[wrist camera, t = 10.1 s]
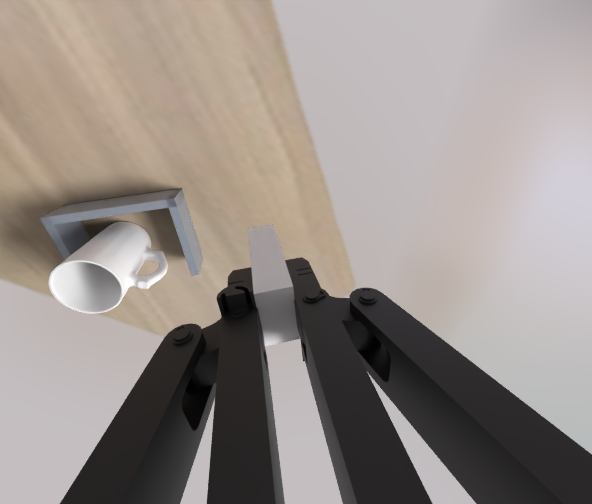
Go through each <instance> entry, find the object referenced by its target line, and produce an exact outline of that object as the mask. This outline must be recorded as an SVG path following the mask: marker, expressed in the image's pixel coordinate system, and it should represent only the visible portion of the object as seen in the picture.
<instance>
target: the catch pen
mask: <svg viewBox="0 0 592 504" xmlns="http://www.w3.org/2000/svg"><path fill="white" fill-rule="evenodd" d="M163 208H169V210H170V213H171V216H172V219H173V222H174V225H175V228H176V231H177V234H178V237H179V240H180V243H181V246H182V249H183V252H184V255H185V258H186V261H187V264H188V267H189V270H190V273H191V276H193V275H198V274H199V272H200V268H201V264H202V260H203V256H202V253H201V250H200V246H199V243H198V240H197V236H196V233H195V230H194V227H193V223H192V220H191V217H190V213H189V210H188V207H187V203H186V200H185V197H184V193H183V190H182V189H175V190H168V191H161V192H154V193H147V194H140V195H133V196H126V197H119V198H111V199H104V200H97V201H90V202H83V203H76V204H69V205H63V206H62V207H60V208H58V209H56V210H54V211H52V212H50V213H48V214H46V215H44V216H42V217H40V220H41V222H42V224H43V225H44V227H45V229H46V230H47V232H48V234H49V236H50V237H51V239H52V241H53V242H54V244H55V246H56V247H57V249H58V251H59V253H60V254H61V256H62V258H63V259H64V260H66V259H67V258H68V257H69V256H71V255H72V254H73V253H74V252H76V251H77V250H78V249H80V248H81V247H82V246H83V245H85V244H86V243H87V242H89V241H90V238H89V236H88V234H87V232H86V230H85V228H84V226H83V224H82V222H81V221H82V220H89V219H95V218H102V217H109V216H116V215H122V214H129V213H136V212H143V211H149V210H156V209H163Z"/></svg>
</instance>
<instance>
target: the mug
mask: <svg viewBox="0 0 592 504" xmlns="http://www.w3.org/2000/svg"><path fill="white" fill-rule="evenodd" d="M144 261H155V262H157V263H158V264H159V268H158V269H157V271H155V272H154V273H152V274H149V275H145V276H138V275H137V273H138V271H139V269H140V268H141V266H142V264H143V263H144ZM167 268H168V265H167V261H166V258H165V256H164V253H163V252H162V251H158V250H151V239H150V237H149V235H148V233H147V232H146V231H145V230H144V229H143V228H142V227H140V226H138V225H136V224H134V223H131V222H116V223H113V224H111V225H109V226H108V227H107V228H105V229H104V230H103V231H101V232H100V233H99V234H97V235H96V236H95V237H94V238H92V239H91V240H90V241H89V242H87V243H86V244H85V245H83V246H82V247H81V248H80V249H78V250H77V251H76V252H74V253H73V254H72V255H71V256H69V257H68V258H67V259H66V260H64V261H63V262H62V263H61V264H60V265H59V266H57V267H56V268H55V269H54V270H53V271H52V272H51V274H50V276H49V281H48V284H49V288H50V291H51V293H52V294H53V296H54V297H55V298H56V299H57V300H58V301H59V302H60V303H62V304H63V305H65V306H66V307H68V308H70V309H73V310H75V311H79V312H83V313H102V312H106V311H109V310H111V309H113V308H115V307H116V306H117V305H118V304H119V303H120V302H121V300H122V298H123V296H124V295H125V293H126V292H127V290H128V288H129V287H131V286H137V287H138V288H142V289H148V288H149V287H150V286H151V285H152V284H154V283H156V282H157V281H158V280H160V279H161V278H162V277H163V276H164V275H165V274H166V272H167Z"/></svg>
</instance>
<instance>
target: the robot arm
mask: <svg viewBox="0 0 592 504" xmlns="http://www.w3.org/2000/svg"><path fill="white" fill-rule="evenodd" d="M248 234H249V245H250V257H251V267H250V268H245V269H239V270H234V271H232V272H231V274H230V275H229V277H228V287H227V288H225V289H223V290H222V291H221V292H220V293H219V294H218V296H217V302H218V305H219V308H220V312H221V315H222V318H221V319H220V320H219V321H217V322H216V323H214V324H212V325H210V326H208V327H206V328H203V329H201V327H200V326H198V325H197V324H185V325H181V326H179V327H177V328H175V329H173V330H172V331H171V332H169V333H168V334H167V336H166V337H165V338H164V340H163V341H162V343H161V344H160V346H159V347H158V349H157V351H156V352H155V354H154V355H153V357H152V359H151V360H150V362H149V363H148V365H147V366H146V368H145V370H144V371H143V373H142V374H141V376H140V378H139V379H138V381H137V382H136V384H135V386H134V387H133V389H132V390H131V392H130V393H129V395H128V397H127V398H126V400H125V402H124V403H123V405H122V406H121V408H120V409H119V411H118V413H117V414H116V416H115V417H114V419H113V420H112V422H111V424H110V425H109V427H108V428H107V430H106V432H105V433H104V435H103V436H102V438H101V440H100V441H99V443H98V444H97V446H96V447H95V449H94V451H93V452H92V454H91V455H90V457H89V458H88V460H87V462H86V463H85V465H84V466H83V468H82V470H81V471H80V473H79V475H78V476H77V478H76V479H75V481H74V482H73V484H72V485H71V487H70V489H69V490H68V492H67V493H66V495H65V497H64V498H63V500H62V501H61V503H60V504H180V502H181V499H182V496H183V493H184V489H185V487H186V483H187V481H188V478H189V474H190V471H191V468H192V465H193V462H194V459H195V456H196V453H197V450H198V447H199V444H200V441H201V438H202V435H203V432H204V429H205V426H206V423H207V420H208V417H209V414H210V411H211V407H212V404H213V401H214V398H215V407H214V419H213V432H212V445H211V458H210V470H209V483H208V495H207V504H285V502H284V494H283V487H282V478H281V470H280V461H279V453H278V445H277V436H276V428H275V420H274V413H273V403H272V396H271V387H270V379H269V370H268V362H267V355H266V350H265V346H268V345H273V344H277V343H282V342H287V341H291V340H296V339H299V338H300V339H301V347H302V355H303V361H305V363H306V366H307V370H308V374H309V378H310V381H311V385H312V389H313V393H314V396H315V400H316V404H317V407H318V412H319V415H320V419H321V423H322V426H323V430H324V434H325V438H326V442H327V445H328V449H329V453H330V457H331V460H332V463H333V467H334V471H335V475H336V479H337V483H338V486H339V490H340V494H341V498H342V502H343V504H432V502H431V500H430V498H429V496H428V494H427V492H426V490H425V488H424V486H423V484H422V482H421V480H420V478H419V476H418V474H417V472H416V470H415V468H414V466H413V464H412V462H411V460H410V458H409V456H408V454H407V452H406V450H405V448H404V446H403V443H402V442H401V439H400V437H399V435H398V433H397V431H396V429H395V427H394V425H393V423H392V421H391V419H390V417H389V415H388V413H387V411H386V409H385V407H384V405H383V403H382V401H381V399H380V397H379V395H378V393H377V391H376V389H375V387H374V385H373V383H372V381H371V379H370V377H369V375H368V373H369V374H370V375H371V376H372V378H373V379H374V380H375V382H376V383H377V384H378V385H379V386H380V388H381V389H382V390H383V391H384V392H385V393H386V395H387V396H388V397H389V398H390V400H391V401H392V402H393V403H394V404H395V406H396V407H397V408H398V409H399V411H401V413H402V414H403V415H404V416H405V418H406V419H407V420H408V421H409V423H410V424H411V425H412V426H413V427H414V429H415V430H416V431H417V432H418V433H419V434H420V436H421V437H422V438H423V440H424V441H425V442H426V443H427V444H428V446H429V447H430V448H431V449H432V450H433V452H434V453H435V454H436V455H437V456H438V458H439V459H440V460H441V461H442V462H443V464H444V465H445V466H446V467H447V468H448V470H449V471H450V472H451V473H452V475H453V476H454V477H455V478H456V479H457V481H458V482H459V483H460V484H461V485H462V486H463V488H464V489H465V490H466V491H467V493H468V494H469V495H470V496H471V497H472V499H473V500H474V501H475V502H476V503H477V504H592V454H590V453H589V452H588V451H586V450H585V449H584V448H582V447H581V446H580V445H578V444H577V443H576V442H575V441H573V440H572V439H571V438H569V437H568V436H567V435H566V434H564V433H563V432H562V431H560V430H559V429H558V428H556V427H555V426H554V425H553V424H551V423H550V422H549V421H547V420H546V419H545V418H544V417H542V416H541V415H540V414H538V413H537V412H536V411H534V410H533V409H532V408H531V407H529V406H528V405H527V404H525V403H524V402H523V401H521V400H520V399H519V398H518V397H516V396H515V395H514V394H512V393H511V392H510V391H509V390H507V389H506V388H504V387H503V386H502V385H501V384H499V383H498V382H497V381H496V380H494V379H493V378H492V377H490V376H489V375H488V374H486V373H485V372H484V371H483V370H481V369H480V368H479V367H477V366H476V365H475V364H474V363H472V362H471V361H470V360H468V359H467V358H466V357H464V356H463V355H462V354H461V353H459V352H458V351H456V350H455V349H454V348H453V347H451V346H450V345H449V344H448V343H446V342H445V341H444V340H442V339H441V338H440V337H438V336H437V335H436V334H435V333H433V332H432V331H431V330H429V329H428V328H427V327H426V326H424V325H423V324H422V323H420V322H419V321H418V320H416V319H415V318H414V317H413V316H411V315H410V314H409V313H407V312H406V311H405V310H403V309H402V308H401V307H400V306H398V305H397V304H395V303H394V302H393V301H392V300H390V299H389V298H388V297H387V296H385V295H384V294H383V293H381V292H380V291H378V290H376V289H372V288H360V289H356V290H355V291H353V292H352V293H351V295H350V298H335V297H331V296H329V294H328V293H327V292H326V291H325V290H323V289H321V287H320V285H319V283H318V281H317V278H316V276H315V274H314V273H313V270H312V268H311V266H310V264H309V262H308V261H307V260H305V259H304V258H296V259H291V260H285V259H284V256H283V253H282V250H281V247H280V243H279V240H278V237H277V234H276V231H275V228H274V225H273V224H271V225H265V226H259V227H252V228H248ZM299 335H300V337H299ZM367 372H368V373H367Z"/></svg>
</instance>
